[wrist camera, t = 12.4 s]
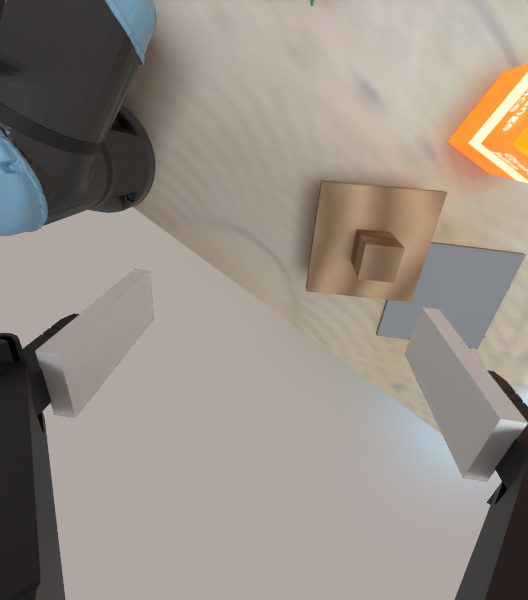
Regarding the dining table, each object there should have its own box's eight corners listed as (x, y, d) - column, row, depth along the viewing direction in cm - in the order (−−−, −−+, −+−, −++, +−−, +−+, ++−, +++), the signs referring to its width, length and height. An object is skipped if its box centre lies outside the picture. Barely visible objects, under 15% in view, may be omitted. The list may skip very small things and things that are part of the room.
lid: (305, 287, 44) (306, 313, 38) (321, 180, 38) (325, 190, 31) (408, 298, 43) (427, 326, 37) (442, 191, 37) (472, 203, 30)
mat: (376, 333, 56) (377, 335, 55) (406, 238, 48) (407, 240, 47) (475, 346, 55) (477, 349, 54) (523, 253, 47) (525, 254, 46)
